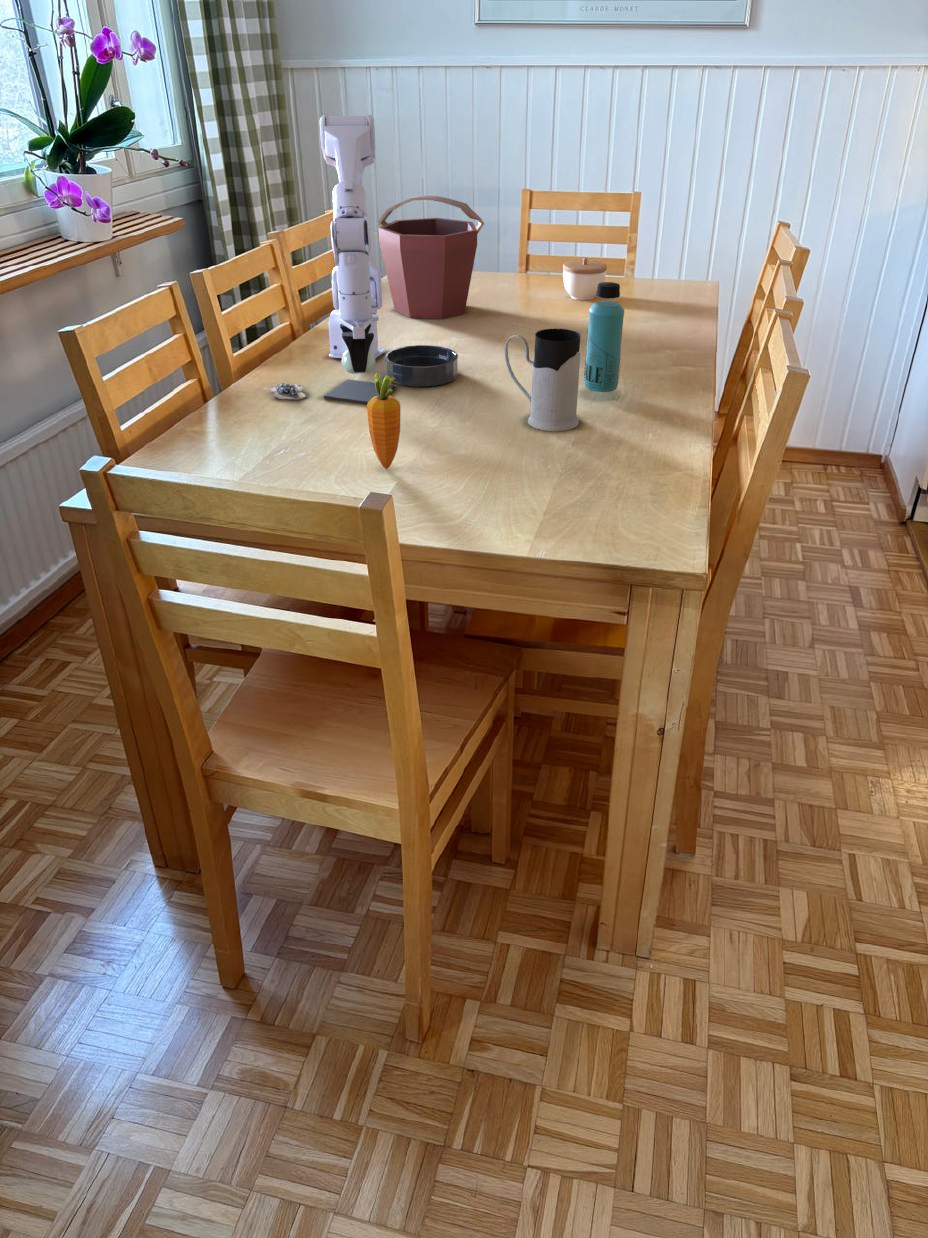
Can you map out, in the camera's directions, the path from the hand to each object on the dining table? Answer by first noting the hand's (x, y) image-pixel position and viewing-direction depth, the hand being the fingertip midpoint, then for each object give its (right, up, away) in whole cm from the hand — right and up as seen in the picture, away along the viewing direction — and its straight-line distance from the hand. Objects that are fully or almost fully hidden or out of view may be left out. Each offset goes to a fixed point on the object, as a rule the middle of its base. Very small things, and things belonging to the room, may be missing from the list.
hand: (358, 367), depth 171 cm
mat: (0, -4, +3) cm, 5 cm away
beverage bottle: (+45, -5, +2) cm, 45 cm away
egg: (0, +1, -1) cm, 1 cm away
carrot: (+7, -23, -26) cm, 36 cm away
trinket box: (+49, +34, +63) cm, 87 cm away
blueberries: (-13, -4, +2) cm, 14 cm away
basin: (+11, +1, +11) cm, 16 cm away
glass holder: (+32, -11, -8) cm, 35 cm away
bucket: (+11, +28, +52) cm, 60 cm away
